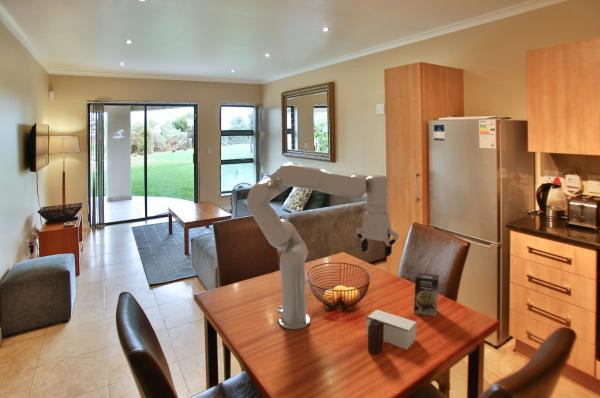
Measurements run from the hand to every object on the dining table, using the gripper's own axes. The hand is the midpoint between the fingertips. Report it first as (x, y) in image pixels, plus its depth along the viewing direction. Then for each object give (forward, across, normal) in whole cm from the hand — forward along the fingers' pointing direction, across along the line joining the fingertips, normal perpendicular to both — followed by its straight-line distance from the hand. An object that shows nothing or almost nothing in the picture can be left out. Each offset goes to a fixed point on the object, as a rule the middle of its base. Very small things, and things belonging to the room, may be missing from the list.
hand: (376, 253), depth 137 cm
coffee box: (+31, +11, +24) cm, 40 cm away
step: (+30, +8, -3) cm, 31 cm away
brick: (+25, +8, -11) cm, 28 cm away
